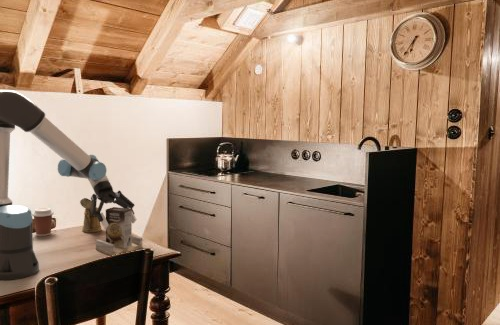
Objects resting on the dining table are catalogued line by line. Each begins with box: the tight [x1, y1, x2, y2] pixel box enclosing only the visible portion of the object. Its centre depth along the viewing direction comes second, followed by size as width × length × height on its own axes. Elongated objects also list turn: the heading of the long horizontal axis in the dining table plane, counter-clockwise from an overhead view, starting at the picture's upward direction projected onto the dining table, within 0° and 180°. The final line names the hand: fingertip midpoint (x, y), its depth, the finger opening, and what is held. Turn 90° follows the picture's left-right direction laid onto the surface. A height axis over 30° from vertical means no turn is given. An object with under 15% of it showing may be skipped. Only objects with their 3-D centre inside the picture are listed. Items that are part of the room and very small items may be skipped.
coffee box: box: [105, 206, 133, 249], centre depth 181 cm, size 9×6×16 cm
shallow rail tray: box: [95, 234, 143, 256], centre depth 182 cm, size 15×12×4 cm
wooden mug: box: [79, 197, 102, 234], centre depth 207 cm, size 9×14×18 cm, turn 1°
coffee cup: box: [32, 207, 54, 237], centre depth 201 cm, size 9×9×12 cm
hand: (121, 224), depth 181 cm, fingers open, 13 cm apart
